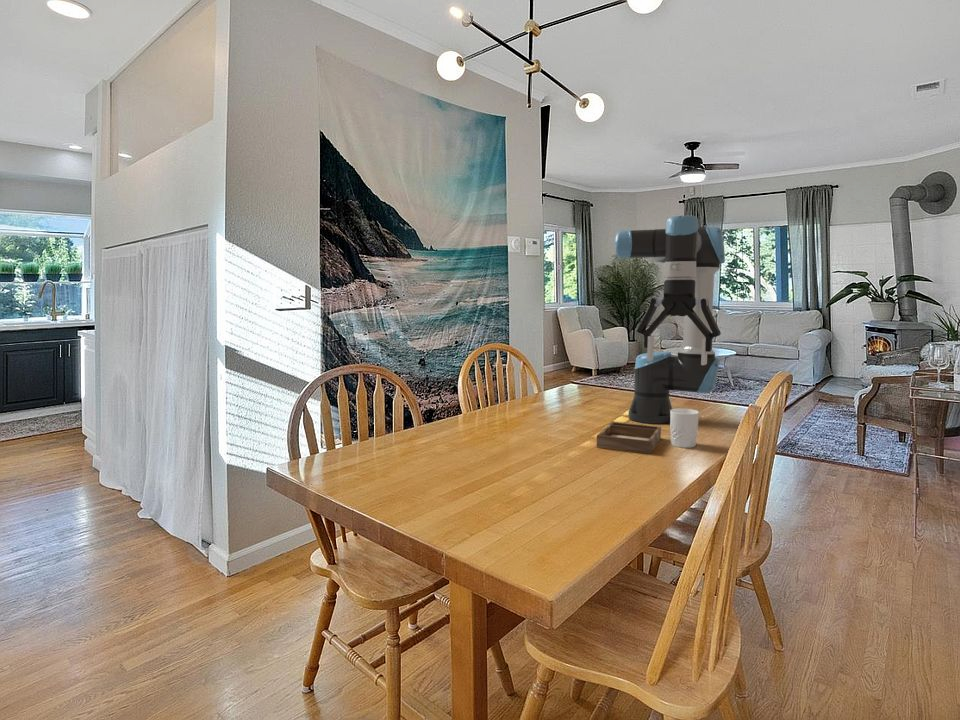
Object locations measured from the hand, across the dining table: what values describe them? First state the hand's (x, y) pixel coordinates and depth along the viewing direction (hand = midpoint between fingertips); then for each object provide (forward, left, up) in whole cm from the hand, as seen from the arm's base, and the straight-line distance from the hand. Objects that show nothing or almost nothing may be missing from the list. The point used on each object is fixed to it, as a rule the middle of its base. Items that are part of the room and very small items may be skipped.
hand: (676, 362), depth 146 cm
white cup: (-18, +1, -27) cm, 32 cm away
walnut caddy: (-14, -14, -26) cm, 33 cm away
